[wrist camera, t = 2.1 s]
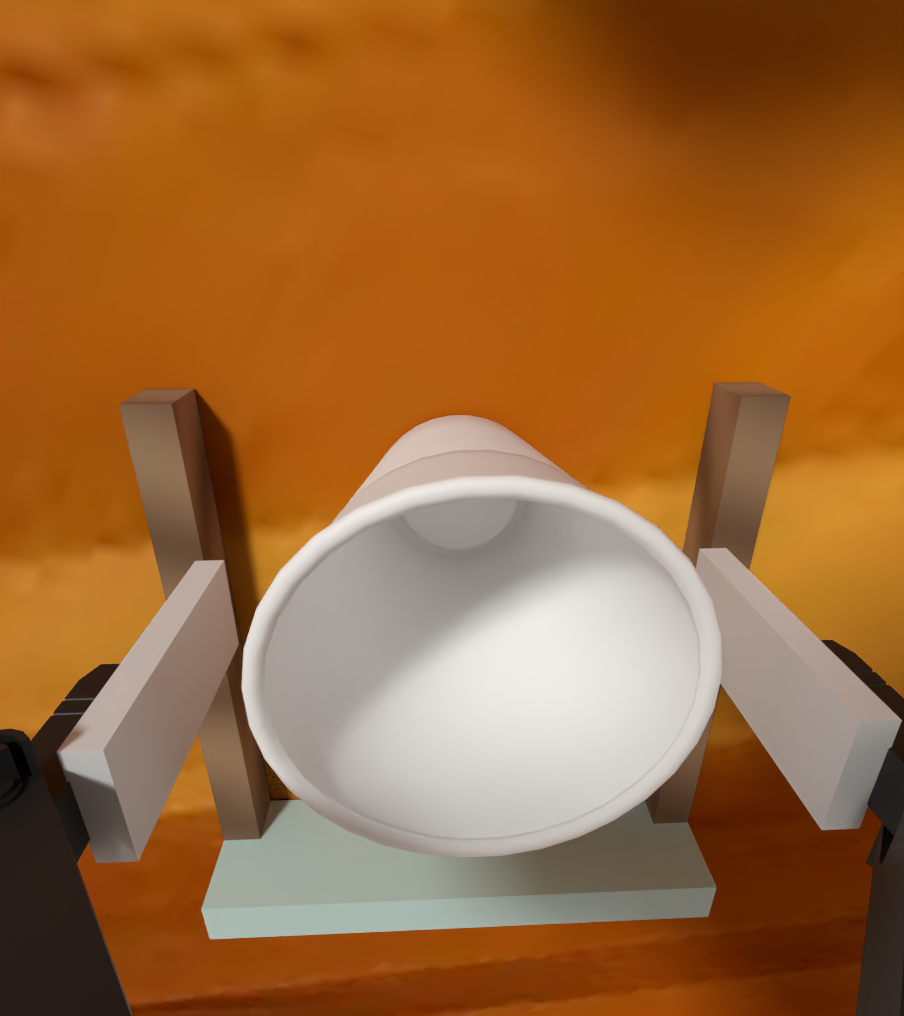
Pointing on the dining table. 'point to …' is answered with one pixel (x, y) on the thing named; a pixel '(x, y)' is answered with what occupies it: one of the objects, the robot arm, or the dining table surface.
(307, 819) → the block
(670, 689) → the cup
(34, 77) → the dining table surface
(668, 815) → the channel
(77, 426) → the dining table surface
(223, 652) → the robot arm
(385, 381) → the dining table surface
